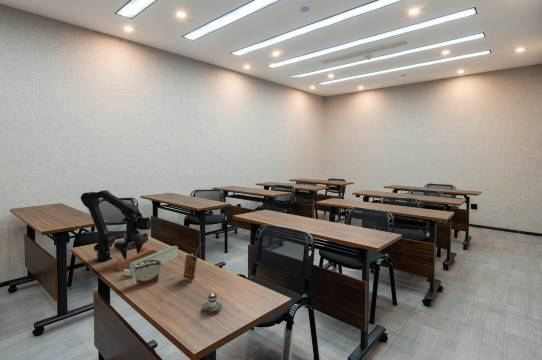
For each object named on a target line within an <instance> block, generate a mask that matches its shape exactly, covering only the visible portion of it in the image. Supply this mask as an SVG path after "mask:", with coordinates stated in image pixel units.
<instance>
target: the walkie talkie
mask: <svg viewBox="0 0 542 360" xmlns="http://www.w3.org/2000/svg"><path fill="white" fill-rule="evenodd" d="M198 246H199V247H198V248H197V250H196V252H195V254H194V253H193V252H191V254H186V256H185V261H184V269H183V270H184V271H183V273H177V274H172V275H170V276H167V277H166V279H167V278H171V277H174V276H178V275H179V276H182V275H183V278H185V279H187V280H189V281H193V280H195V277H198V273H196V268H197V267H196V266H197V261H198V257H197V256H196V255H197V254H198V251H199V249H200V246H202V243H199V245H198Z"/></svg>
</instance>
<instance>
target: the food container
mask: <svg viewBox="0 0 542 360" xmlns="http://www.w3.org/2000/svg"><path fill="white" fill-rule="evenodd" d="M161 266H162V264H161V262H160V261H159V260H153V259H151V260H143V261H140V262H137V263H136V264H135V265H134V269H133V271H135V282H136V288H137V289H139V288H143V287H146V286H149V285H153V284H158V283H159V281H160V280H159V278H160V270H161V269H160V268H161Z"/></svg>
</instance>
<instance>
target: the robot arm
mask: <svg viewBox="0 0 542 360" xmlns="http://www.w3.org/2000/svg"><path fill="white" fill-rule="evenodd" d="M100 199H102V200H104V201H105V202H107V203H109V204H110V205H112V206H114V207H115V208H116V209H118V210H119V211H120V213H121V214H122V215H123V216H124V218H123V219H122V220H121V221H122V222H125V230H124V231H123V234H124V233H126V238H125V241H126V242H125V241H124V240H119V241H116V235H115V233H114V231H113V230H111V231H110V230H109V229H108V227H107V224H106V222H105V219H104V216H103V214H102V212H101V209H100V207H99V204H100ZM80 200H81V202H82V204H83V206H84V207H85V208H87V209H88V210H89V211H88V212H89V214H90V216H91V219H92V222H93V224H94V226H95V228H96V231H97V238H96V240H97V243H96V244H95V245H94V246H93V250H94V251H95V252H96V258H94V259H93V261H97V262H101V263H102V262H106V261H109V260H112V259H113V257H111V249H110V248H112V247H113V248H114V249H117V250H118V251H119V253H120V254H121V256H122V257H123V259H124V260H126V259H128V257H127V256H128V255H127V253H128V252H127V251H128V249H129V248H128V244H131V243H134V242H135V244H136V253H137V254H138V253H139V251H140V250H141V249H142V248H143V247H144V246H143V245H145V243H147V242H148V241H149V235H148V233H147V232H146V233H141V232H140V230H142V231H146V230H147V231H148V230H149V231H150V230H151V229H152V226H153V222H152V220H151V217H149V216H148V217H144V215H143V214H142V213H141V212H140V209H139V207H137V206H136V205H134V204H131V203H127V202H125V201H124V200H122V199H120V198H119V197H117V196H115V195H114V194H113V193H112V192H110V191H109V190H107V189H106V190H99V191H90V192H89V191H88V192H84V193H82V194H81V196H80ZM140 233H141V234H140ZM115 241H116V242H115ZM137 254H136V255H137Z"/></svg>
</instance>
